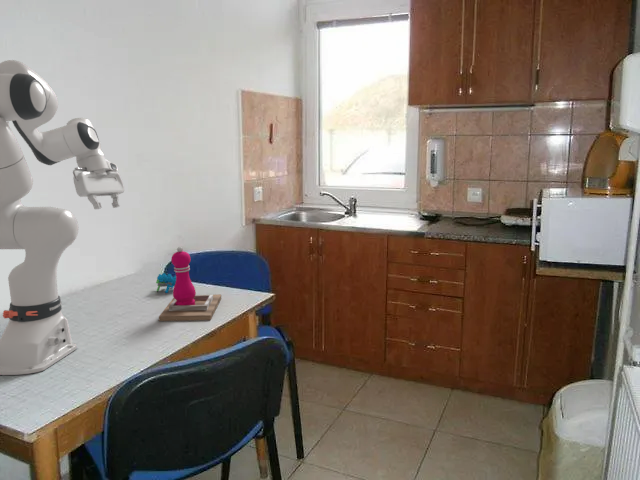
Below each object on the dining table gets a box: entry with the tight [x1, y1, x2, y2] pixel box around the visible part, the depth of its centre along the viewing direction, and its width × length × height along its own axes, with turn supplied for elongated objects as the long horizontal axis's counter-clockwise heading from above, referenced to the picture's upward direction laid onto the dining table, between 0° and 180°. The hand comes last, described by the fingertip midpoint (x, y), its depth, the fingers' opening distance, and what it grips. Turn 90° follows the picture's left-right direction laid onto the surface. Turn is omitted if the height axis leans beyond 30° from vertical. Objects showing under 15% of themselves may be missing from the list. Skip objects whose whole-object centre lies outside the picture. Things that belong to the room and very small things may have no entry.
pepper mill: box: [171, 246, 197, 305], centre depth 171 cm, size 7×7×20 cm
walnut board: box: [158, 294, 222, 322], centre depth 174 cm, size 22×16×3 cm
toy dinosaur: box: [155, 272, 176, 294], centre depth 195 cm, size 11×6×10 cm
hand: (107, 208), depth 173 cm, fingers open, 8 cm apart
